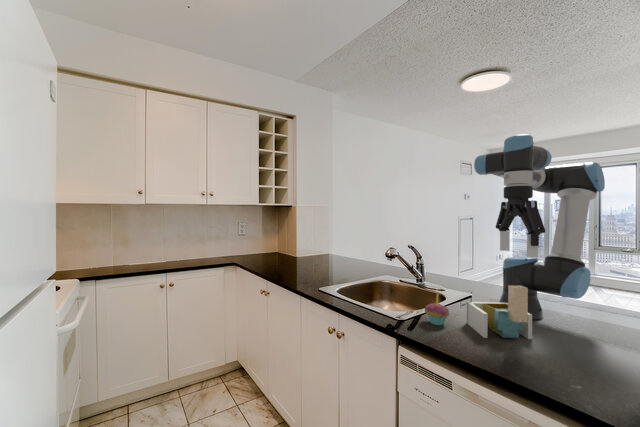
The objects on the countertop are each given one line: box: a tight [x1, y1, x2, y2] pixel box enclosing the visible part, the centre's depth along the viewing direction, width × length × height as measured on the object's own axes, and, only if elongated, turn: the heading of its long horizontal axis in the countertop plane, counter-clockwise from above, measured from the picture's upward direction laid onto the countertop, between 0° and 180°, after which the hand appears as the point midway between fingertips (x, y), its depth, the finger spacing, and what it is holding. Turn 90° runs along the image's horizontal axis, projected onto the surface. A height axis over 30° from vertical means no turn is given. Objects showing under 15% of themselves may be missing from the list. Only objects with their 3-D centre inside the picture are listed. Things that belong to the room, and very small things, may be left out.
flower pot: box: [482, 302, 508, 335], centre depth 99 cm, size 9×9×9 cm
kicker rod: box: [495, 285, 528, 339], centre depth 91 cm, size 8×7×18 cm
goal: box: [466, 301, 533, 340], centre depth 101 cm, size 15×12×8 cm
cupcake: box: [424, 292, 450, 326], centre depth 108 cm, size 9×8×12 cm
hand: (517, 253), depth 90 cm, fingers open, 13 cm apart
